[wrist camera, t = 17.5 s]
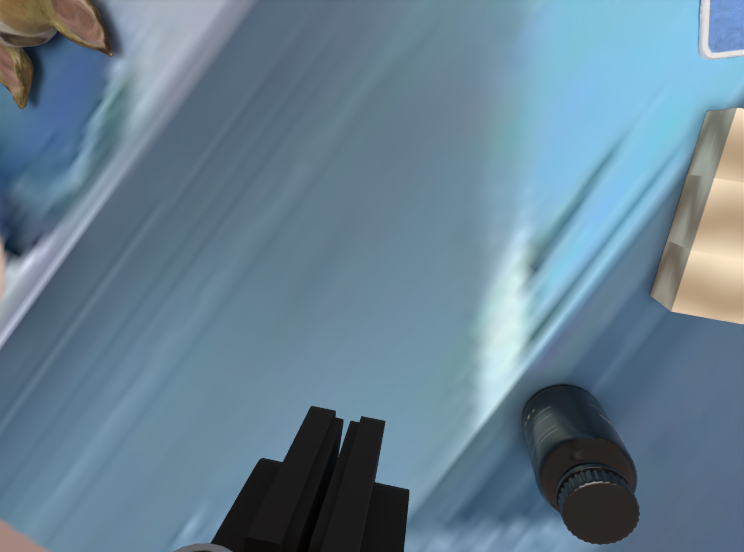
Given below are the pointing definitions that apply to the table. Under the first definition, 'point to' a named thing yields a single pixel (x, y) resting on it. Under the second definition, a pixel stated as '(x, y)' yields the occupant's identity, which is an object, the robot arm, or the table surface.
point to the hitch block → (708, 227)
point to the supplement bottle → (581, 464)
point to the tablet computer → (721, 29)
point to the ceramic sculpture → (43, 35)
